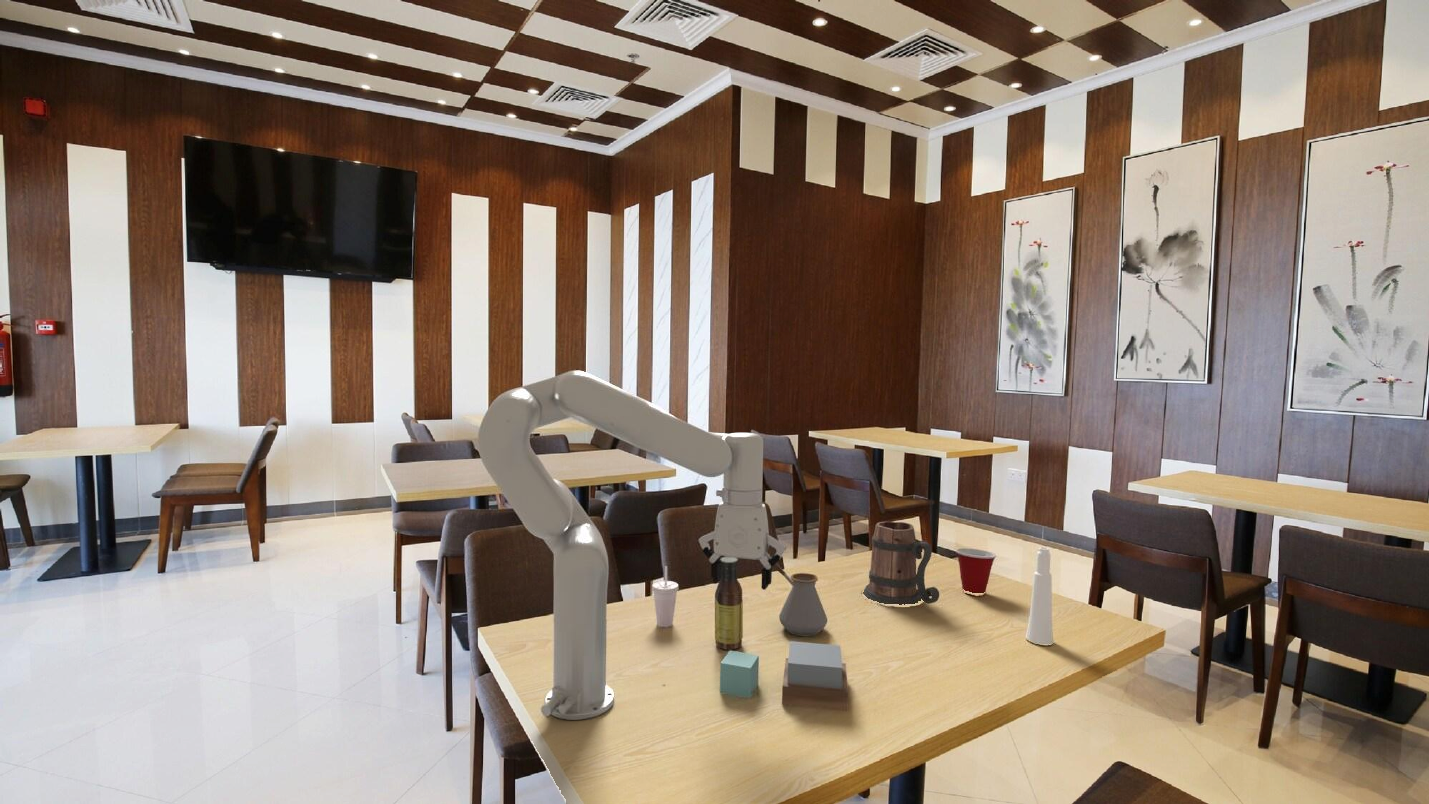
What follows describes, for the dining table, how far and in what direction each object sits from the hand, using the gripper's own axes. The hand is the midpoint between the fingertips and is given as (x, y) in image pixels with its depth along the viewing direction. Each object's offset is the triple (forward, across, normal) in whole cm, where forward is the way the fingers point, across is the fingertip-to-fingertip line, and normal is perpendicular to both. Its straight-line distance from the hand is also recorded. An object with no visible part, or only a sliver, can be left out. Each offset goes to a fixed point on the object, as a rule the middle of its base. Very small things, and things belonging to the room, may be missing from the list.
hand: (741, 584), depth 129 cm
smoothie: (+21, -26, +24) cm, 41 cm away
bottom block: (+21, +14, +3) cm, 26 cm away
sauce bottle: (+21, -8, +18) cm, 28 cm away
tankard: (+21, +28, +62) cm, 71 cm away
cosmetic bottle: (+21, +60, +46) cm, 78 cm away
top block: (+17, +14, +3) cm, 22 cm away
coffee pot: (+21, +3, +36) cm, 41 cm away
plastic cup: (+21, +47, +76) cm, 92 cm away
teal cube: (+21, 0, 0) cm, 21 cm away
